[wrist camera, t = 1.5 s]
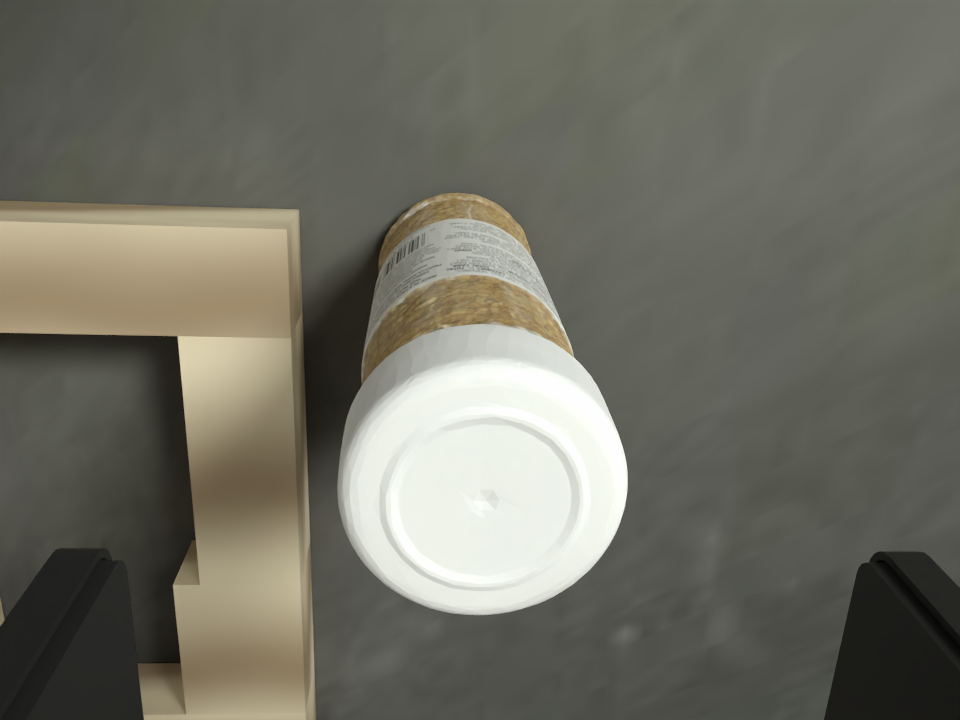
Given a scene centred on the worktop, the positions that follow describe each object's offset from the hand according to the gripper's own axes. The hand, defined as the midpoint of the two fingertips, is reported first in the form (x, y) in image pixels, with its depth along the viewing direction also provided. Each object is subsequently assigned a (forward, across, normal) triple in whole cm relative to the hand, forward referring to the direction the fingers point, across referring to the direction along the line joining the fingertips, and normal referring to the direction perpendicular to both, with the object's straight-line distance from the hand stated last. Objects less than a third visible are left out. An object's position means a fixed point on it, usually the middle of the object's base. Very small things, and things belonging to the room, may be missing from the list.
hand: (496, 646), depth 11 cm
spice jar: (+16, 0, -1) cm, 16 cm away
